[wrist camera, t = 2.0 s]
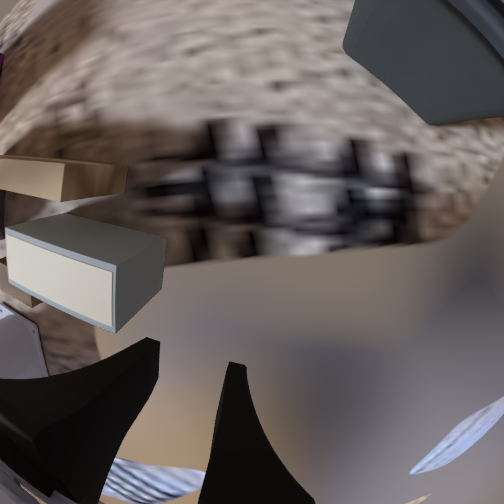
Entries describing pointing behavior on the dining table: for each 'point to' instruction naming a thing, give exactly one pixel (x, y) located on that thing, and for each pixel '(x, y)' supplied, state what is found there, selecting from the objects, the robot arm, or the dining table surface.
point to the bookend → (2, 213)
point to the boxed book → (86, 267)
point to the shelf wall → (60, 177)
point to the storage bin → (434, 54)
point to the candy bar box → (0, 60)
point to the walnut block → (2, 283)
